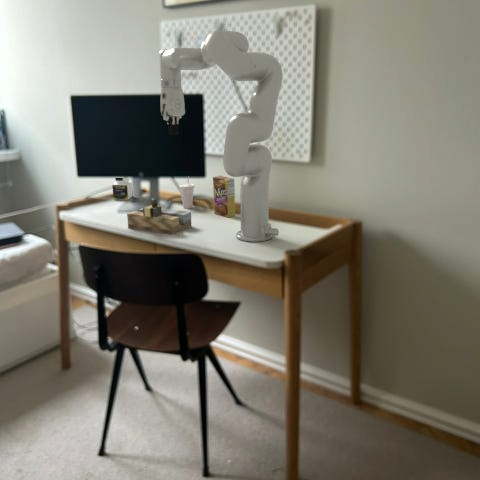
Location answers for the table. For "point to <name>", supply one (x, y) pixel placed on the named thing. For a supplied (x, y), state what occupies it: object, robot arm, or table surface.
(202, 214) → the table surface
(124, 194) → the medicine bottle
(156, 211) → the lock frame
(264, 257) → the table surface
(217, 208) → the candy box
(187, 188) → the smoothie
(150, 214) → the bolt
